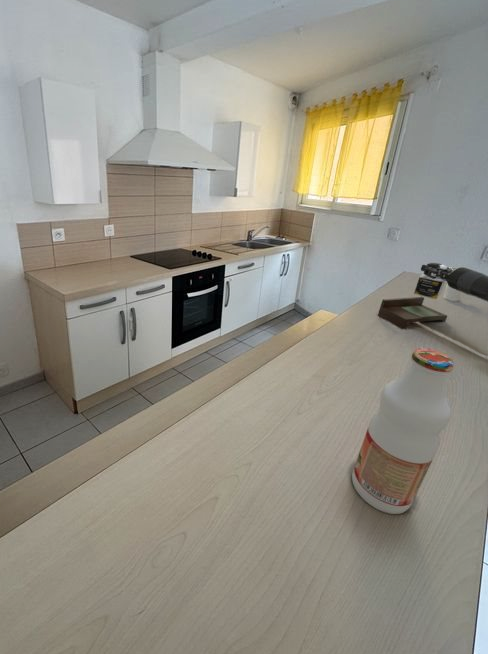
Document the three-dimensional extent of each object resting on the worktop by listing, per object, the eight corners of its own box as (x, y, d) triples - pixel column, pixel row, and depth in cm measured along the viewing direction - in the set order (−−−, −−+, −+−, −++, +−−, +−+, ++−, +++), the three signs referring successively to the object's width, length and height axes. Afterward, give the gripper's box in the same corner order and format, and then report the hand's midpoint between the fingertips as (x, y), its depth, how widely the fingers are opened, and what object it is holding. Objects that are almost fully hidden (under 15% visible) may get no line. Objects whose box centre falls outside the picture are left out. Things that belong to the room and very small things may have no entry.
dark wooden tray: (416, 312, 135) (421, 296, 132) (443, 325, 124) (450, 308, 121) (377, 315, 130) (382, 299, 127) (402, 329, 119) (408, 312, 116)
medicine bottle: (413, 294, 122) (423, 263, 117) (417, 290, 126) (428, 260, 122) (436, 299, 117) (447, 268, 112) (439, 295, 122) (451, 264, 117)
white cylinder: (444, 295, 156) (449, 281, 154) (461, 299, 152) (467, 285, 149) (439, 298, 152) (445, 284, 149) (457, 302, 147) (463, 288, 145)
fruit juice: (369, 517, 53) (426, 375, 42) (341, 467, 61) (382, 339, 50) (423, 515, 53) (494, 375, 42) (388, 467, 62) (439, 340, 51)
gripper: (494, 271, 104) (452, 258, 119) (452, 270, 103) (415, 257, 118) (485, 293, 107) (445, 277, 122) (444, 292, 106) (409, 276, 121)
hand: (430, 267), depth 120 cm, fingers closed on medicine bottle, 6 cm apart
